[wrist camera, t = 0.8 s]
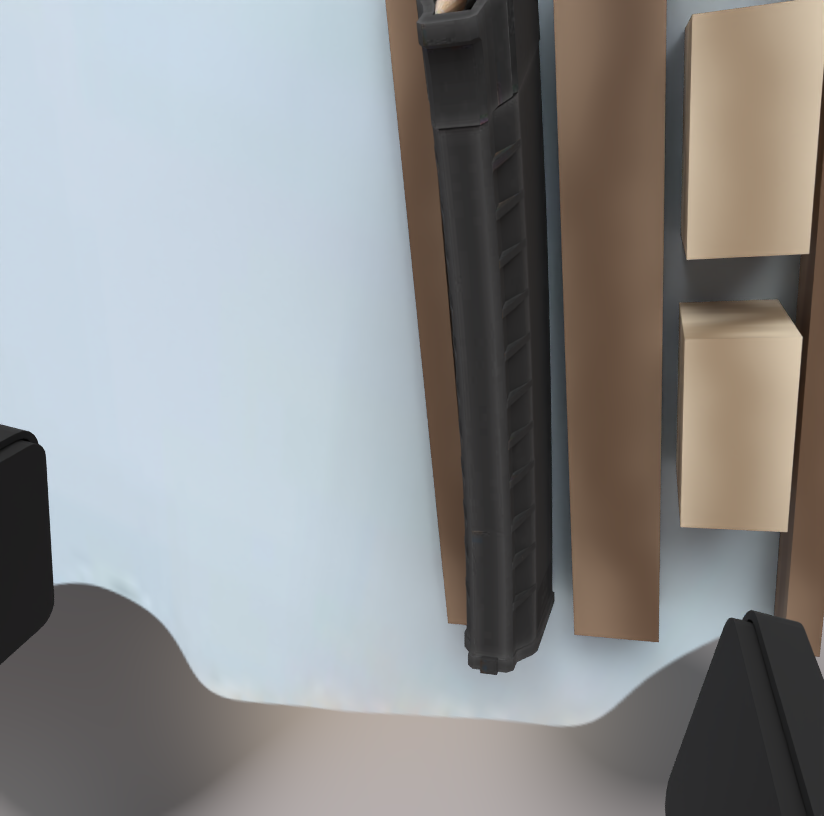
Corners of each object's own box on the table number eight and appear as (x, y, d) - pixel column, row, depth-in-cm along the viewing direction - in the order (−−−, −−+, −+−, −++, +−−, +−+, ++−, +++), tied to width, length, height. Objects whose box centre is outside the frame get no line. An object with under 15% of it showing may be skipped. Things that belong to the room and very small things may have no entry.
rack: (878, -155, 27) (903, -183, 24) (807, 617, 38) (819, 656, 35) (399, -66, 32) (377, -82, 29) (460, 590, 43) (448, 623, 40)
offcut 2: (777, 298, 33) (802, 337, 28) (766, 467, 36) (787, 531, 30) (679, 302, 34) (684, 339, 29) (675, 465, 37) (680, 527, 31)
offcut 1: (795, 14, 29) (829, -5, 24) (782, 228, 32) (809, 253, 27) (684, 29, 30) (692, 14, 25) (680, 234, 33) (686, 259, 28)
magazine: (536, 748, 34) (446, 2, 16) (465, 737, 35) (304, 21, 17) (569, 482, 47) (539, -95, 29) (516, 480, 48) (455, -81, 30)
